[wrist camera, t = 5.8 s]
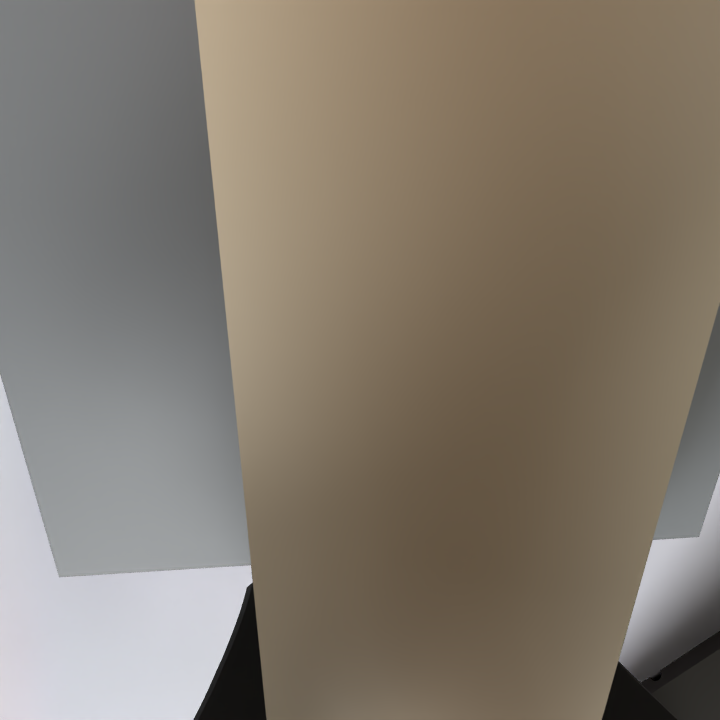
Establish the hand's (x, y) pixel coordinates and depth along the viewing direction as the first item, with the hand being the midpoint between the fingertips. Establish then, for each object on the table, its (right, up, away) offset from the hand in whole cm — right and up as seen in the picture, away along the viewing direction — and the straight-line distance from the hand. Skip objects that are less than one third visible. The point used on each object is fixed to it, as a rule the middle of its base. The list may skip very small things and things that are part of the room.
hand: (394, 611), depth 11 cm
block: (0, +5, -2) cm, 5 cm away
